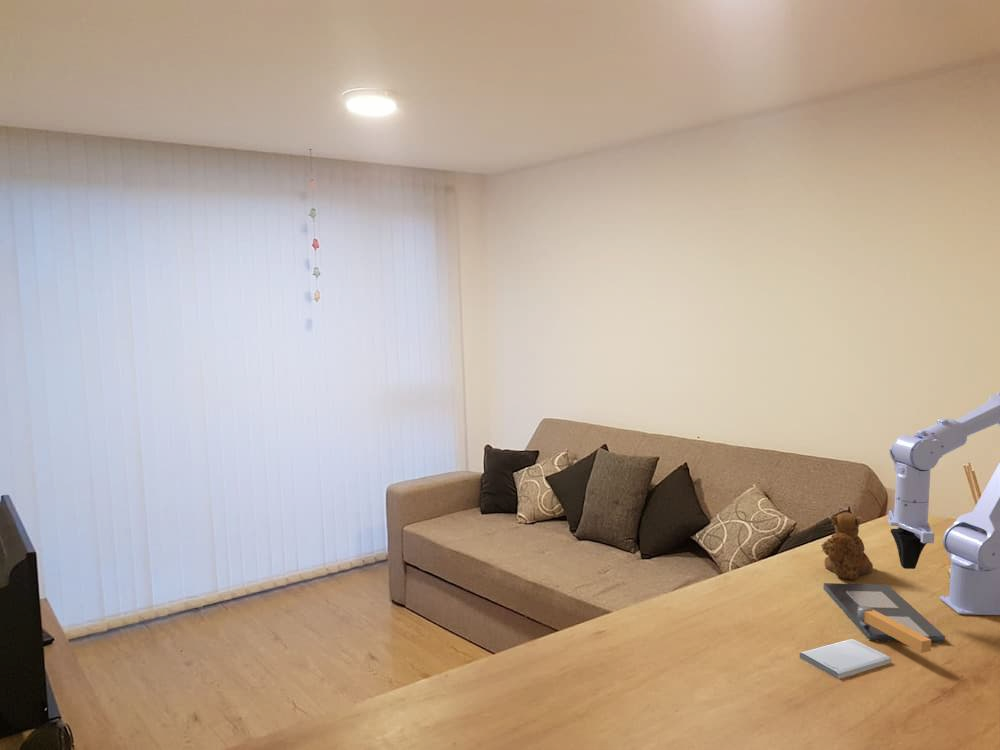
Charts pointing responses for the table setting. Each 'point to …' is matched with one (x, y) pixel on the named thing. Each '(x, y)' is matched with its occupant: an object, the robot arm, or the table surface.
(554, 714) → the table surface
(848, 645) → the hard drive
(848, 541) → the stuffed squirrel
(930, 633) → the psu panel
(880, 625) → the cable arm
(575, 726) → the table surface
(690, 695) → the table surface
